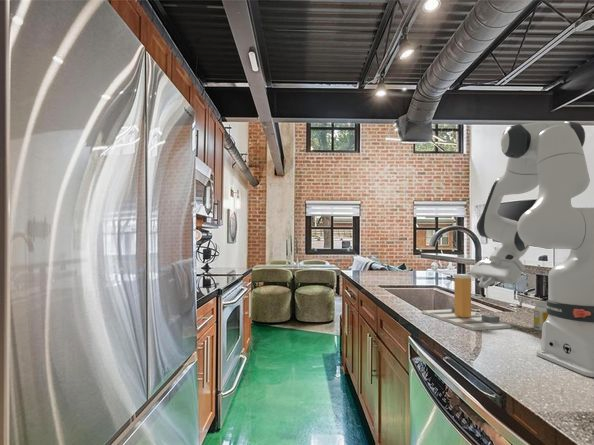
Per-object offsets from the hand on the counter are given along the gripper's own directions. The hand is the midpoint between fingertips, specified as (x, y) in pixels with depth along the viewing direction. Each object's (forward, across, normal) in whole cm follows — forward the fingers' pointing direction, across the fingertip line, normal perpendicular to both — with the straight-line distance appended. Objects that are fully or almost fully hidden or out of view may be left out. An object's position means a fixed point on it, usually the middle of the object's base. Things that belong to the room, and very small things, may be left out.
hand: (482, 286), depth 137 cm
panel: (+15, 0, +2) cm, 15 cm away
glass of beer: (+14, 0, +1) cm, 14 cm away
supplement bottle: (+3, +19, +14) cm, 24 cm away
